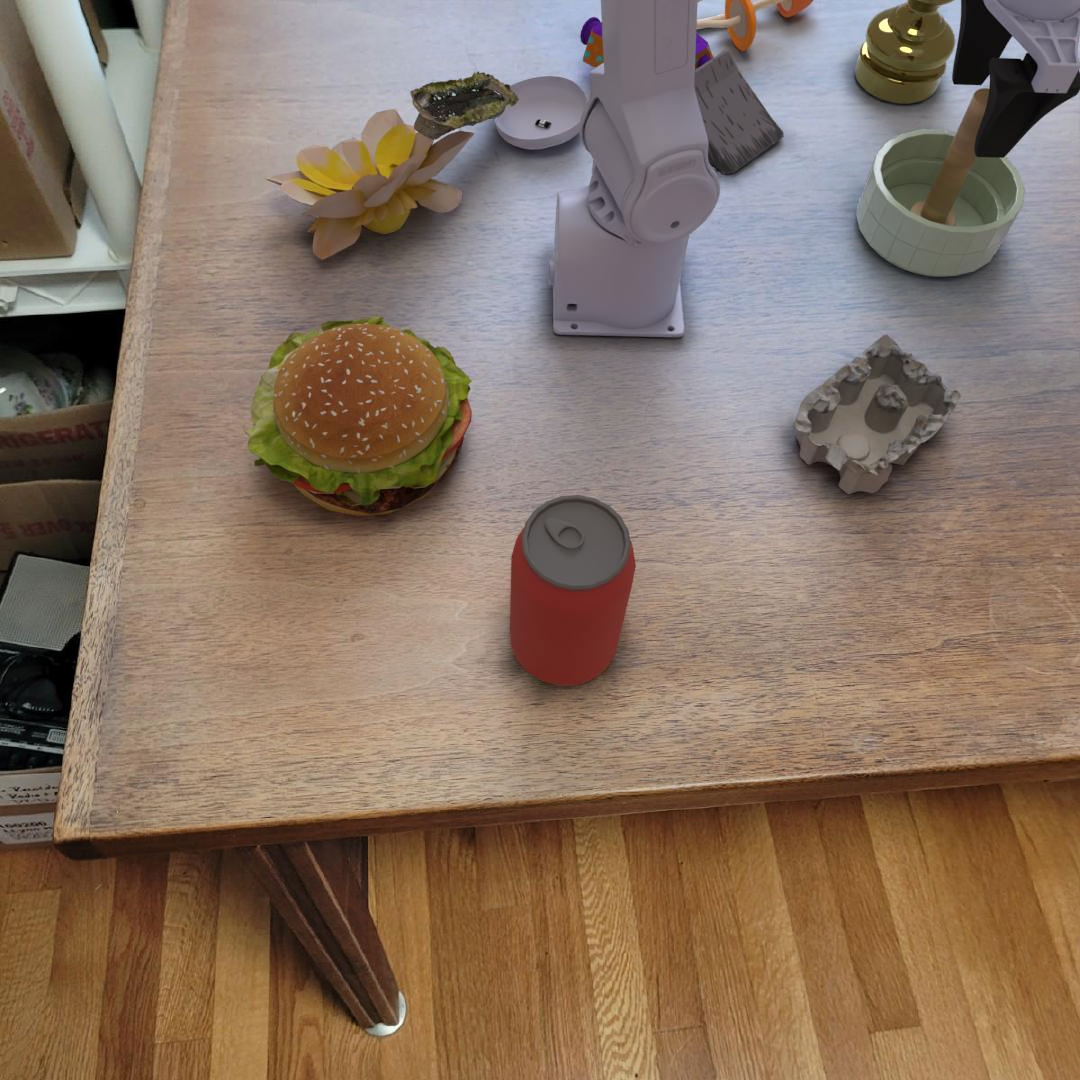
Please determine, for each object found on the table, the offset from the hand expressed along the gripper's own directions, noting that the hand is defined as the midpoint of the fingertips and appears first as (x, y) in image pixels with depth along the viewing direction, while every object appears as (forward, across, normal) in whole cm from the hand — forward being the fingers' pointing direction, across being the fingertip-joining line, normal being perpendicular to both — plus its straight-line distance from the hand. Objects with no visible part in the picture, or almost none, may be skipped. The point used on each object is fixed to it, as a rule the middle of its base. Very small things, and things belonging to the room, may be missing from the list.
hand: (977, 117), depth 73 cm
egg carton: (+11, -20, +8) cm, 24 cm away
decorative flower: (+10, 0, +43) cm, 44 cm away
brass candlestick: (+11, +19, -1) cm, 21 cm away
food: (+11, -22, +42) cm, 49 cm away
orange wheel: (+8, +23, +20) cm, 31 cm away
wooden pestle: (+10, 0, 0) cm, 10 cm away
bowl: (+10, 0, 0) cm, 10 cm away
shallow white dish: (+10, +11, +30) cm, 34 cm away
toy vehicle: (+11, +16, +20) cm, 27 cm away
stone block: (+3, +5, +34) cm, 35 cm away
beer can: (+11, -36, +29) cm, 47 cm away
